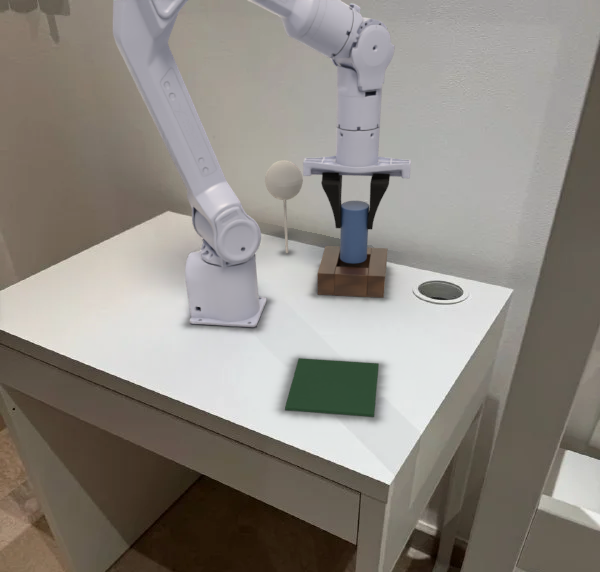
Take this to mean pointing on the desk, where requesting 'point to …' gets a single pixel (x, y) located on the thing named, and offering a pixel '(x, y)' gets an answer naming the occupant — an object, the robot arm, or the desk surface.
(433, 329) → the desk surface
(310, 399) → the mat
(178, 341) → the desk surface
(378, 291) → the holder
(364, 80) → the robot arm
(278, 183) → the lollipop
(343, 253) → the peg
